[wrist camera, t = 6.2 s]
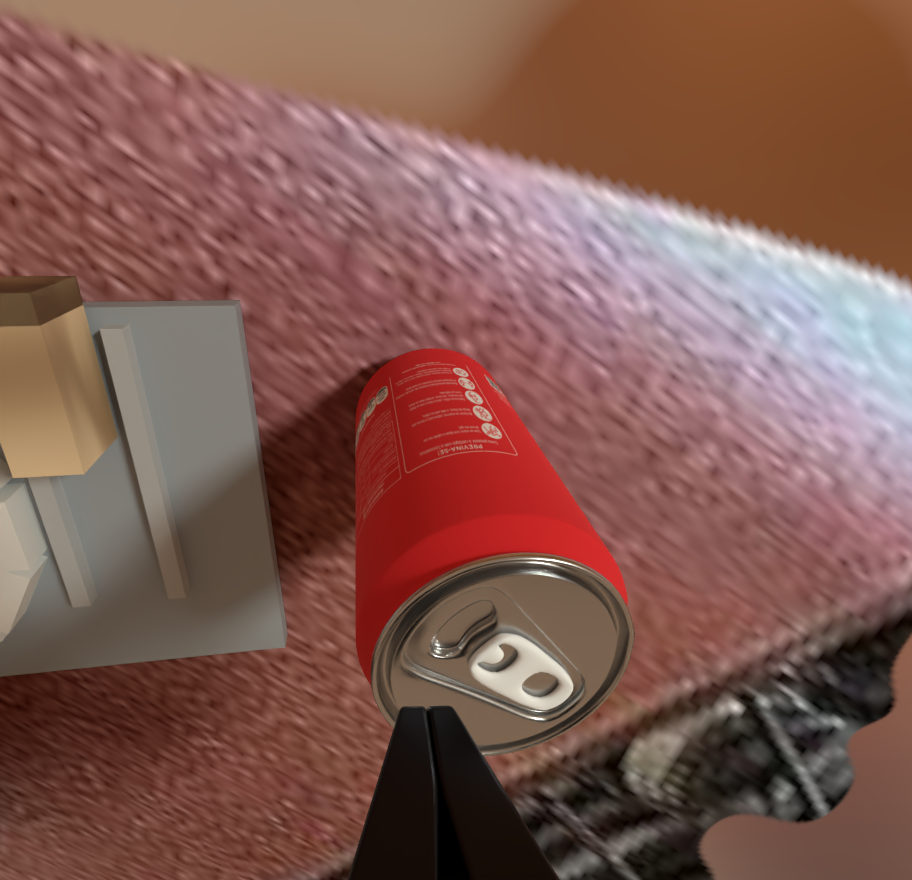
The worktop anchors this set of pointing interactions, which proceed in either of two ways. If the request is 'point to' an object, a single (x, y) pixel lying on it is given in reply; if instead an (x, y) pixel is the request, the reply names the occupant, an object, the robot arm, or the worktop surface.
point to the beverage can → (476, 562)
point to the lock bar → (49, 380)
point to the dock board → (148, 508)
